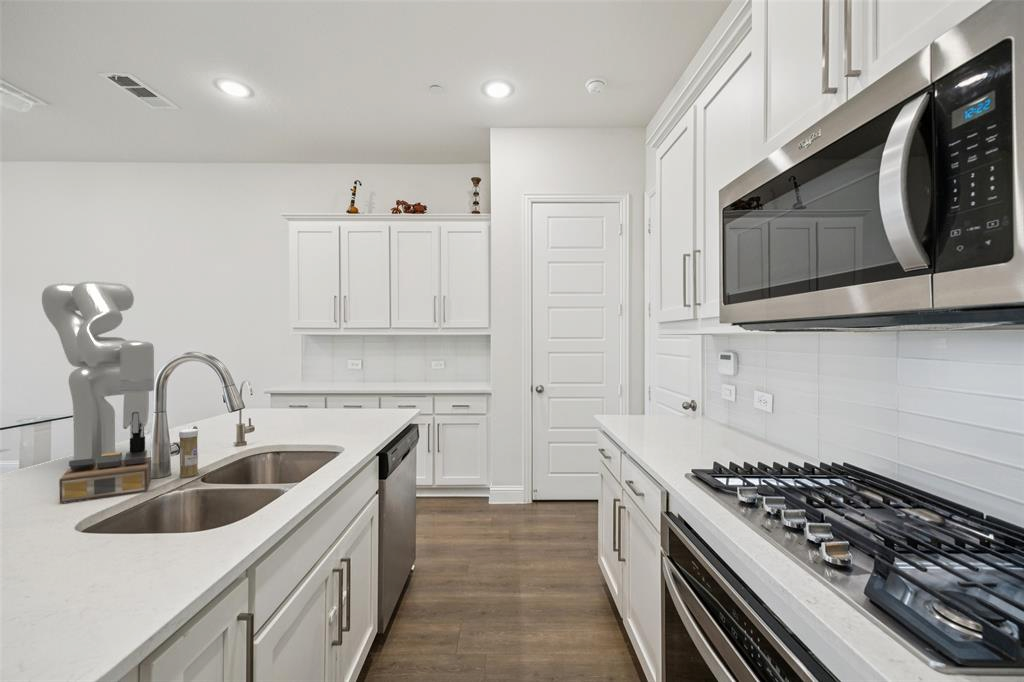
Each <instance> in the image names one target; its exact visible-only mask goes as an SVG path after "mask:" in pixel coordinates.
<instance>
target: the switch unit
mask: <svg viewBox="0 0 1024 682" xmlns="http://www.w3.org/2000/svg"><path fill="white" fill-rule="evenodd" d="M69 468H70V467H69ZM151 480H152V456H149V457H146V461H145V463H138V464H129V465H124V459H121V464H120V465H119V466H114V467H105V468H97V463H96V465H94V467H91V468H82V469H73V470H71V468H70V469H69V470H68V471H67V470H66V472H65V473H64V474H63V475H62V476H61V477H60V478H59V487H58V488H59V504H60V503H62V504H65V503H64V502H69V503H71V502H70V501H76V502H80V501H79V500H83V501H88V500H87V499H90V500H95V499H94V498H97V499H102V498H103V497H104V498H111V497H117V495H118V496H125V495H130V494H139V493H145V492H148V489H149V486H150V483H151ZM110 496H111V497H110Z"/></svg>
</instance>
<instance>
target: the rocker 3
mask: <svg viewBox="0 0 1024 682" xmlns="http://www.w3.org/2000/svg"><path fill="white" fill-rule="evenodd" d="M147 455H148V450H147V449H145V451H144V452H138V453H130V451H127V452H126V453H125V457H124V459H123V460H124V465H129V464H138V463H145V461H146V458H148V457H147Z"/></svg>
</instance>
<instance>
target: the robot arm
mask: <svg viewBox="0 0 1024 682" xmlns="http://www.w3.org/2000/svg"><path fill="white" fill-rule="evenodd" d="M134 301H135V297H134V294H133V291H132V289H131V288H129V287H128V285H126V284H123V283H115V282H104V281H83V282H79V283H55V284H50V285H48V286H46V287H45V288H44V289H43V291H42V294H41V304H42V309H43V312H44V314H45V316H46V318H47V319H48V321H49V322H50V324H52V327H54V329H55V330H56V332H57V333H58V337H59V340H60V343H61V345H62V349H63V351H64V355H65V357H66V359H67V362H68V363H69V364H70V365H71V366H73V367H76V369H74V370H73V371H71V373H70V374H69V376H68V386H69V391H70V395H71V400H72V411H73V412H72V413H73V416H72V417H73V460H83V459H96V463H98V460H99V458H100V456H101V454H109V453H116V412H115V409H114V407H113V405H112V404H111V403H110V402H109V401H108V400H107V399H106V398H105V397H111V396H122V395H123V407H122V408H123V410H122V411H123V412H122V413H123V414H122V415H123V417H122V418H123V420H122V429H124V430H126V429H127V428H129V427H130V430H129V431H130V438H129V452H130V453H138V452H144V451H145V450H146V436H145V427H146V426H147V424H148V420H149V408H150V393H149V392H152V391H153V392H154V391H155V348H154V347H155V346H154V344H153V343H152V342H149V341H141V340H127V339H125V338H122V337H117V336H100V335H102V334H105V333H108V332H111V331H114V330H115V329H117V328H118V327H119V326H121V324H122V322H123V314H122V312H123V311H128V310H129V309H131V308H132V306H133V305H134ZM78 312H79V313H80V314H79V313H78ZM70 468H71V467H68V468H67V469H66V472H67V471H68V470H69V469H70Z"/></svg>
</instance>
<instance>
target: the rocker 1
mask: <svg viewBox="0 0 1024 682" xmlns="http://www.w3.org/2000/svg"><path fill="white" fill-rule="evenodd" d="M94 465H96V459H83V460H74V459H73V460H69V462H68V468H70V467H71V470H73V469H82V468H91V467H94Z"/></svg>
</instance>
